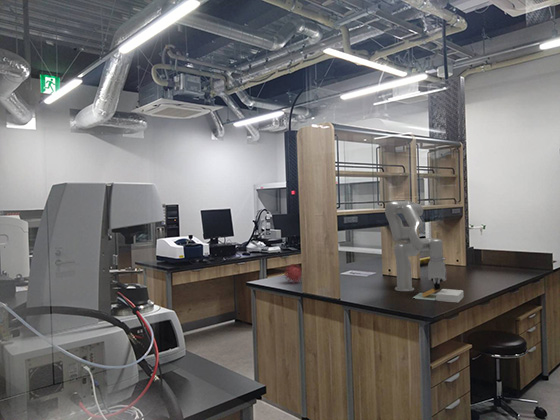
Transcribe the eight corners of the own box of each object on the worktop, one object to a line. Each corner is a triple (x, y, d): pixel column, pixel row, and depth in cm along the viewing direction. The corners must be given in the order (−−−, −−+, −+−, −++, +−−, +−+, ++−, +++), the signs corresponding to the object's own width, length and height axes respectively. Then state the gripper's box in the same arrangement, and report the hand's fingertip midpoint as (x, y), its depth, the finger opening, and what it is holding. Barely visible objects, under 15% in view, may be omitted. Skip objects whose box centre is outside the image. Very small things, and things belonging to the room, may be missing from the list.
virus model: (282, 284, 311) (281, 265, 311) (287, 281, 326) (286, 262, 325) (301, 285, 307) (300, 265, 307) (305, 281, 322) (305, 262, 322)
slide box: (429, 294, 259) (427, 290, 260) (439, 289, 255) (437, 286, 256) (423, 297, 252) (421, 293, 252) (433, 292, 248) (431, 289, 248)
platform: (442, 295, 257) (442, 288, 257) (463, 297, 250) (463, 290, 250) (436, 300, 244) (436, 293, 244) (458, 302, 237) (458, 295, 237)
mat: (419, 293, 265) (419, 292, 265) (441, 295, 258) (441, 294, 258) (412, 298, 252) (412, 297, 252) (434, 300, 244) (434, 299, 244)
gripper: (450, 259, 250) (451, 289, 250) (425, 258, 258) (426, 287, 258) (448, 260, 244) (449, 292, 244) (422, 259, 252) (423, 289, 252)
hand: (437, 289), depth 251 cm, fingers closed
